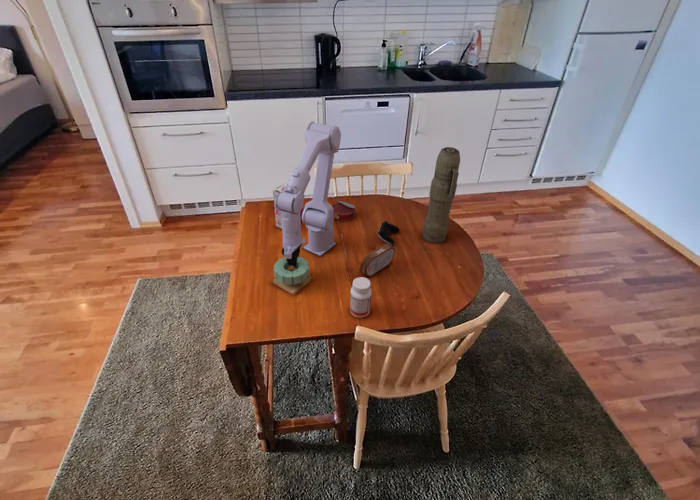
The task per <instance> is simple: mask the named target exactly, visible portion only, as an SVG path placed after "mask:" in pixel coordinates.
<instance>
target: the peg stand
mask: <svg viewBox="0 0 700 500" xmlns="http://www.w3.org/2000/svg"><path fill="white" fill-rule="evenodd" d="M294 270H297V269H295V268H294V266H289V267H288V270H287V271H294ZM312 280H313V277H312V276H310V275H308V277H307V279H305V280H304V281H303V282H302V281H301V283H298V284H292V285H289V284H285V283H284V284H283V283H281V282H279V281H278V280H276V278H274V279H272V281H271V282H272V285H274V286H275V287H278V288H279V289H281V290H283V291H285V292H287V293H289V294H290V295H292V296H295V295H296V294H297V293H298V292H299V291H301V290H302V289H303V288H304V287H305V286H307V285H308V284H309V283H310V282H312Z"/></svg>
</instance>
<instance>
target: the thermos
mask: <svg viewBox="0 0 700 500" xmlns="http://www.w3.org/2000/svg"><path fill="white" fill-rule="evenodd" d="M460 164H461V154H460V151H459V149H457V148H455V147H450V146H447V147H446V146H445V147H443V148H441V149H440V151H439V152H438V155H437V158H436V161H435V168H434V175H433V177H432V180H431V183H430V189H429V195H428V196H429V202H428V209H427V214H426V218H425V219H424V222H423V229H422V231H423V232H422V239H423V240H425V241H426V242H428V243H431V244H441V243H443V242H445V241H446V236H447V234H448V229H449V226H450V222H449V219H450V214H451V209H452V205H453V201H454V199H455V196H456V192H457V188H458V187H457V186H458V179H459V169H460Z"/></svg>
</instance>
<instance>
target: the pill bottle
mask: <svg viewBox="0 0 700 500" xmlns="http://www.w3.org/2000/svg"><path fill="white" fill-rule="evenodd" d="M371 285H372V283H371V281H370V279H369V278H367V277H362V276H359V277H356V278H354V279H353V281H352V287H351V288H350V294H349V312H350V314H351V315H352V316H353V317H354V318H355V317H356V318H359V319H363V318H366V317H367V316H369V314H371V306H372V297H373V296H372V294H373V291H372V288H371Z"/></svg>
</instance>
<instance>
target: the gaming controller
mask: <svg viewBox="0 0 700 500" xmlns="http://www.w3.org/2000/svg"><path fill="white" fill-rule="evenodd" d="M399 232H400V228H399V227H398V226H397V225H395V224H391V223H389V222H388V220H384V221H382V223H381V224H380V226H379V229H378V231H377V236H378V238H379V239H380V240H381V241H382V242H384V243H385V244H390V245H391V246H395V244H396V242H395V240H394V238H392V237H391V233H394V234H398V233H399Z"/></svg>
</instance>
